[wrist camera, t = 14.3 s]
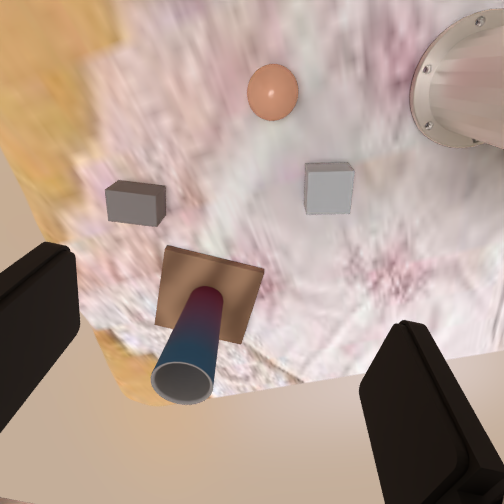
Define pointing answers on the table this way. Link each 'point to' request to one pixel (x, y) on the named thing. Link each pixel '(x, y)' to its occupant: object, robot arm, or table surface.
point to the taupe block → (136, 203)
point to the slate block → (328, 188)
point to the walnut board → (213, 275)
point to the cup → (191, 350)
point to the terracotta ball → (272, 92)
